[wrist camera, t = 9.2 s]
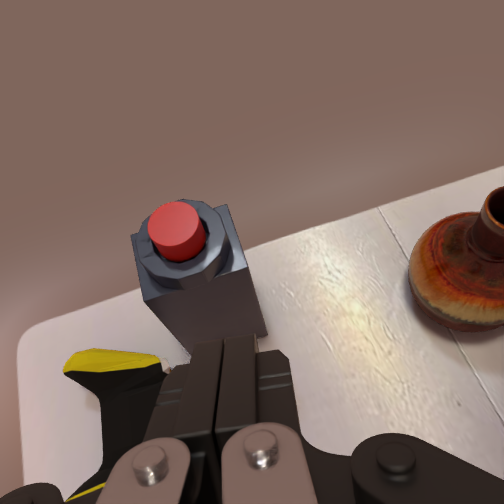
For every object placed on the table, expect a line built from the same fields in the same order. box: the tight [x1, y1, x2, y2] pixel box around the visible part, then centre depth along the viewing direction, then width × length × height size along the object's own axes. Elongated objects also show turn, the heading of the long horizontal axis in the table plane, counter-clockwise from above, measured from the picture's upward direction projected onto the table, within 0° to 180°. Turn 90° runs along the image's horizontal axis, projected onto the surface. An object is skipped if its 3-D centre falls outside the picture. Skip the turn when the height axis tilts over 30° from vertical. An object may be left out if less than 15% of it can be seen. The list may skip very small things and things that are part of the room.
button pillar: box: [131, 199, 268, 356], centre depth 40 cm, size 8×6×18 cm
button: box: [148, 202, 206, 262], centre depth 32 cm, size 4×4×2 cm
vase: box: [408, 186, 504, 332], centre depth 40 cm, size 11×11×15 cm
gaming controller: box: [63, 348, 171, 502], centre depth 41 cm, size 15×6×10 cm
